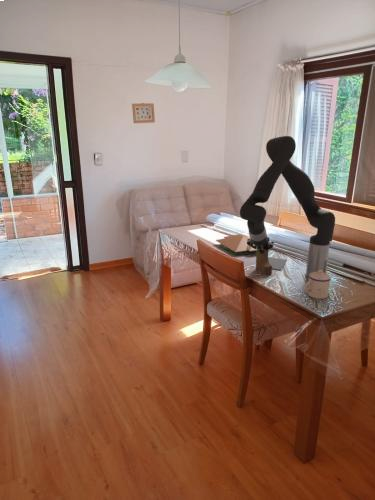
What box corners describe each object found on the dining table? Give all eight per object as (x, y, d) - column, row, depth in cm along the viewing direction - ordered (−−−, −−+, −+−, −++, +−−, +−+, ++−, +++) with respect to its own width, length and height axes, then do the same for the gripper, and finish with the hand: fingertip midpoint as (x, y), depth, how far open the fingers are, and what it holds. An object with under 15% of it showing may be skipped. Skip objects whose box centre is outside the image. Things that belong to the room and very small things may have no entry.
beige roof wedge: (237, 258, 209) (238, 245, 206) (212, 243, 238) (212, 230, 235) (271, 254, 217) (272, 240, 214) (242, 239, 246) (243, 227, 244)
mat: (286, 260, 205) (286, 259, 205) (281, 270, 190) (281, 269, 190) (263, 257, 210) (263, 256, 210) (256, 266, 195) (256, 266, 195)
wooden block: (271, 274, 185) (274, 240, 179) (263, 275, 183) (266, 240, 178) (262, 268, 193) (265, 235, 187) (255, 269, 191) (257, 236, 186)
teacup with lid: (318, 289, 167) (321, 265, 164) (333, 297, 159) (336, 272, 156) (297, 293, 163) (299, 269, 159) (311, 302, 155) (314, 276, 151)
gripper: (274, 228, 163) (277, 246, 177) (245, 225, 168) (250, 243, 182) (271, 242, 160) (274, 260, 174) (241, 239, 165) (247, 256, 179)
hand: (262, 251), depth 178 cm, fingers closed
